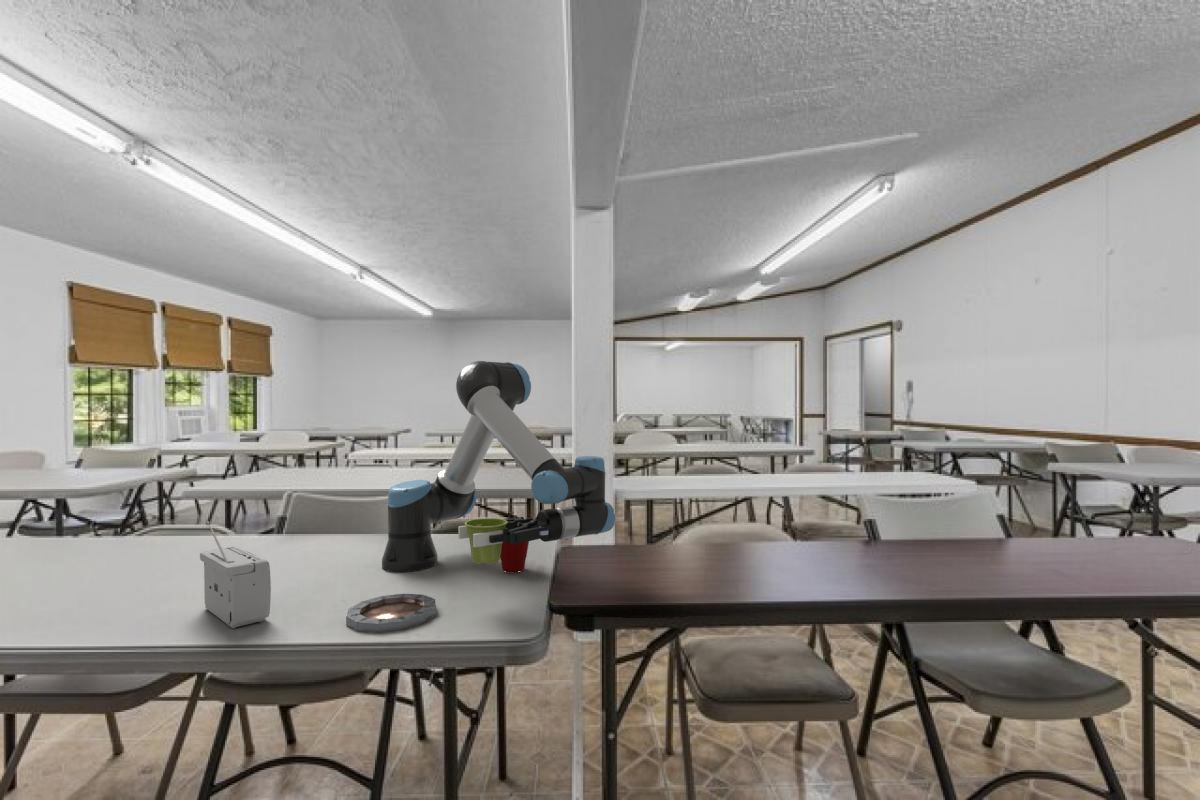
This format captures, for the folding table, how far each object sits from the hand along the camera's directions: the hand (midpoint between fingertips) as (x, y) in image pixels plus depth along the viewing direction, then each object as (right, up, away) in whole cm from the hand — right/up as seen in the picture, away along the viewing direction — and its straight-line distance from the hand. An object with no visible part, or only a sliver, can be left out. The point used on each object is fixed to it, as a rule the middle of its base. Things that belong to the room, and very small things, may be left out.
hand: (466, 536), depth 129 cm
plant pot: (+4, -6, +3) cm, 8 cm away
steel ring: (-16, -17, -2) cm, 23 cm away
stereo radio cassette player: (-51, -17, 0) cm, 54 cm away
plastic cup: (+6, -17, +32) cm, 36 cm away
